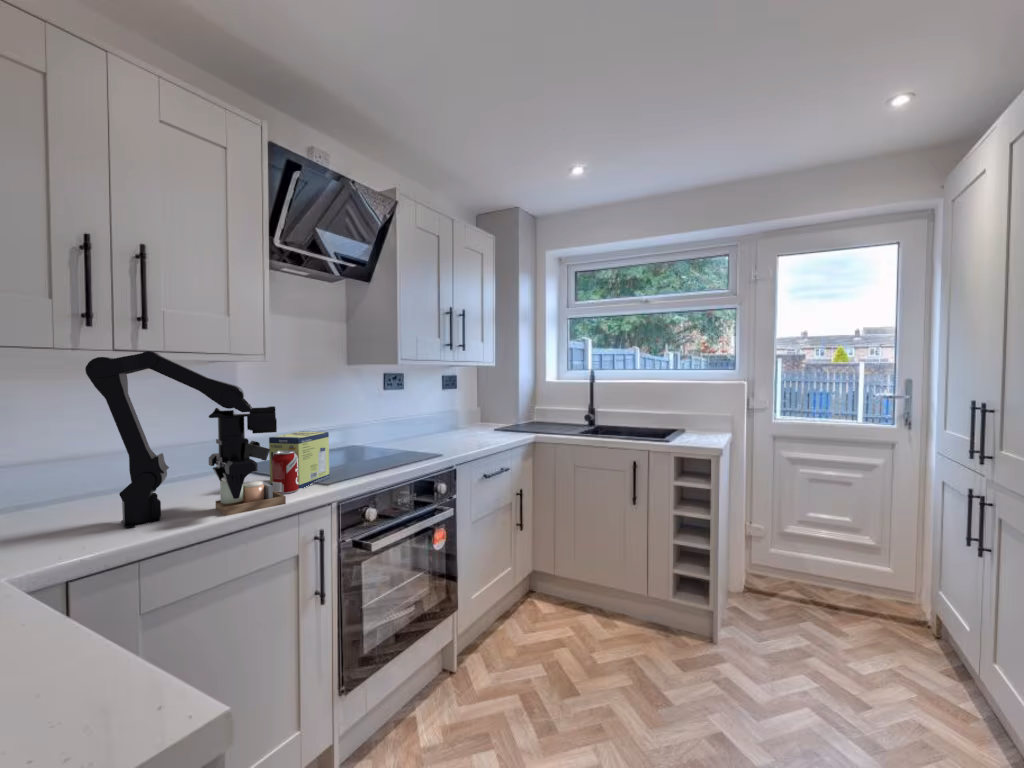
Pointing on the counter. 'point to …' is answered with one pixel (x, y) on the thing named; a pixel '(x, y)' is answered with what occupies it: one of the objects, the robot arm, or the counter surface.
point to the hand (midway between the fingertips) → (233, 496)
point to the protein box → (304, 454)
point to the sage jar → (228, 493)
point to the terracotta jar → (253, 491)
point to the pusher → (268, 490)
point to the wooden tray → (250, 505)
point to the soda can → (285, 472)
